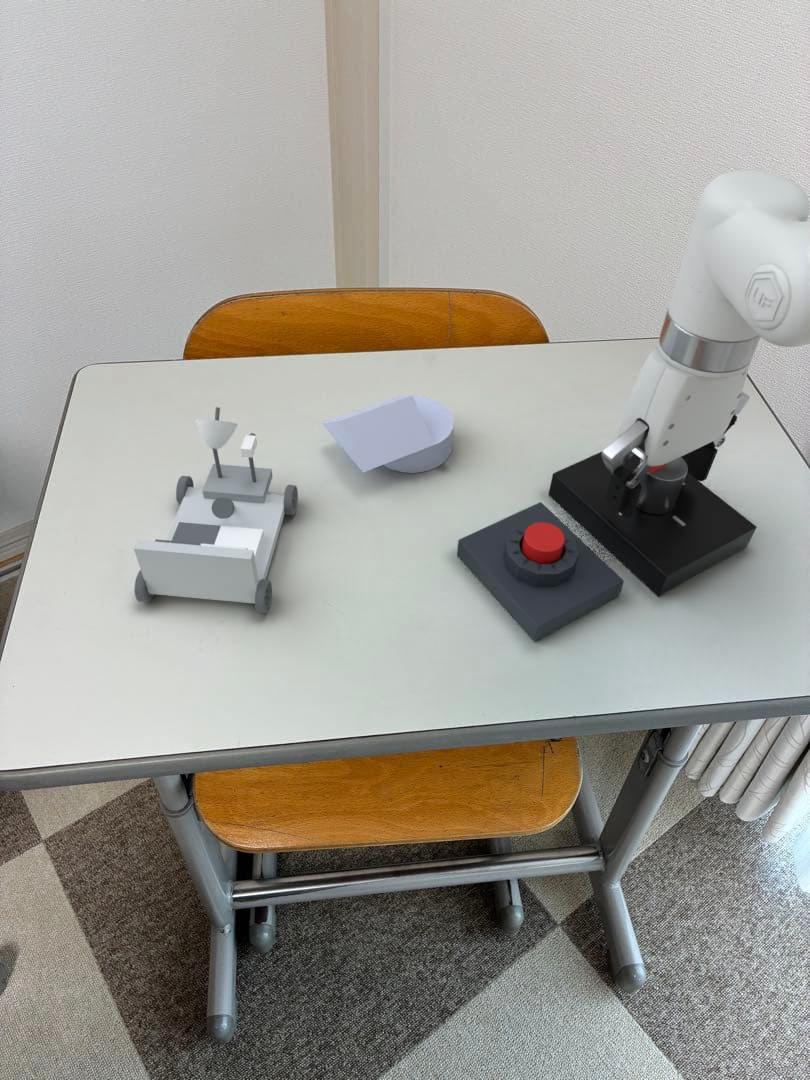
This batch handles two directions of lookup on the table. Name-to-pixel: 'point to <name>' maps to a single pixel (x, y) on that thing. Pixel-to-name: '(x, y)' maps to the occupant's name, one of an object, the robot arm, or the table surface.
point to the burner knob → (662, 487)
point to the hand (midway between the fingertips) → (655, 490)
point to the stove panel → (653, 525)
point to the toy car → (218, 531)
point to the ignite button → (543, 543)
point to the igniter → (538, 573)
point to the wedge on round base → (396, 434)
